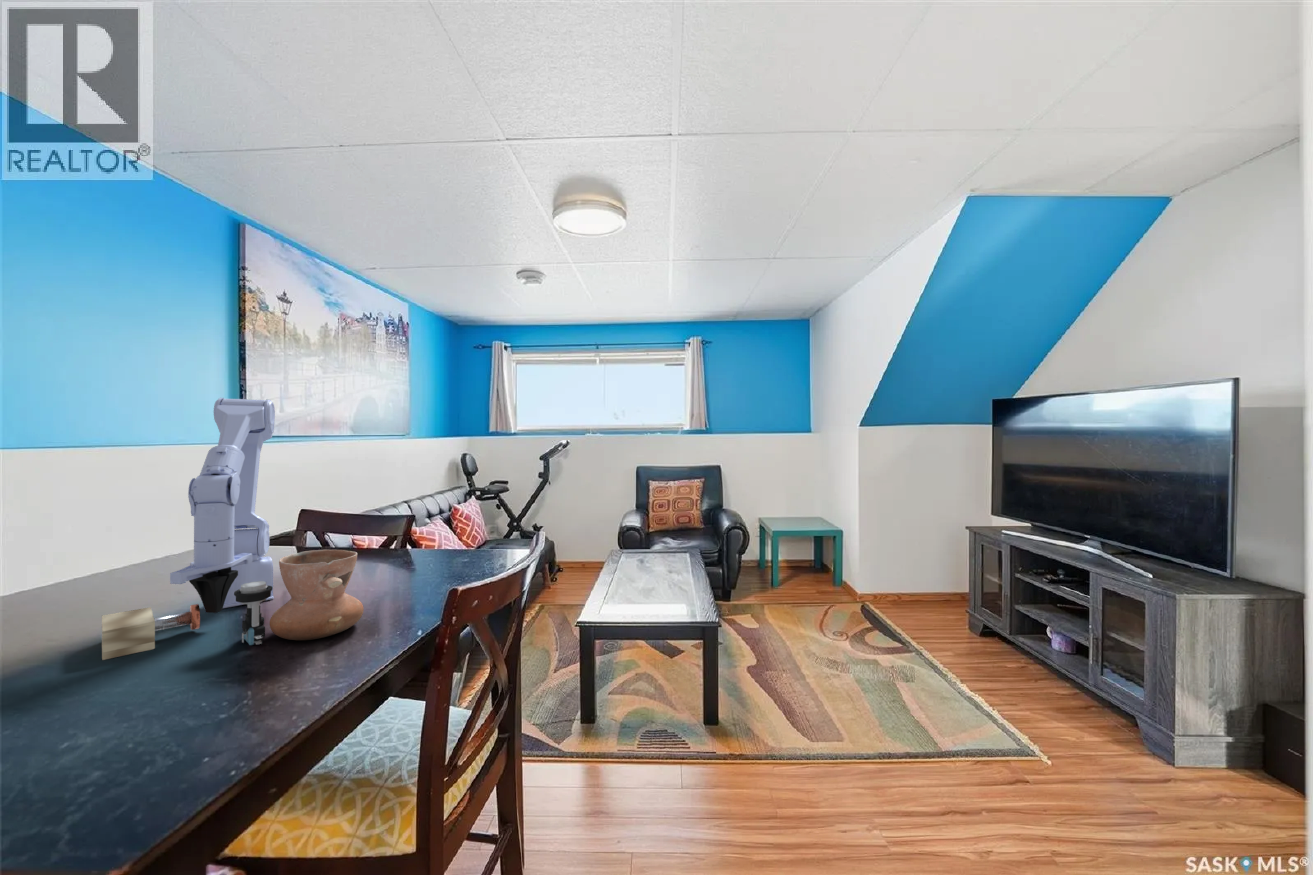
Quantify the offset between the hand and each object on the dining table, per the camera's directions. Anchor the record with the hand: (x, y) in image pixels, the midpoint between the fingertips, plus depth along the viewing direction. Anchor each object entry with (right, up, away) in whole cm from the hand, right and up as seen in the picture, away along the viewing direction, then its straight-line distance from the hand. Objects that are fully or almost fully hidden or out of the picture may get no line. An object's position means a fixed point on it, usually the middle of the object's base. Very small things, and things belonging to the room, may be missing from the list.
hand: (213, 611), depth 95 cm
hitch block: (-8, -3, -8) cm, 12 cm away
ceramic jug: (+20, -4, -1) cm, 20 cm away
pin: (-6, -3, -6) cm, 9 cm away
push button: (+12, -4, -6) cm, 14 cm away
